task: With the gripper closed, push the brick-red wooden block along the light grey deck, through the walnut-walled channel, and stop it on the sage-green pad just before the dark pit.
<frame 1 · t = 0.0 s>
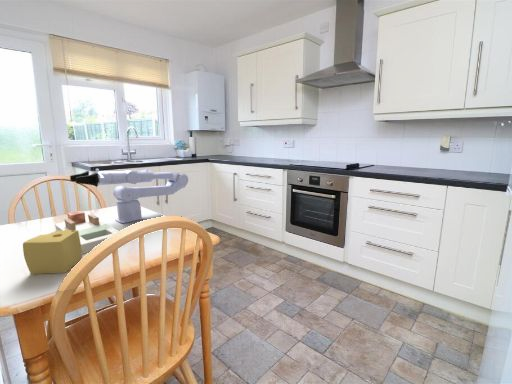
hand: (73, 179, 112), 22 cm above the table, tool horizontal, fingers open, 7 cm apart
block: (77, 222, 118), point 3 cm above the table, touching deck
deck: (87, 235, 111), on the table
cheese: (58, 267, 86), on the table
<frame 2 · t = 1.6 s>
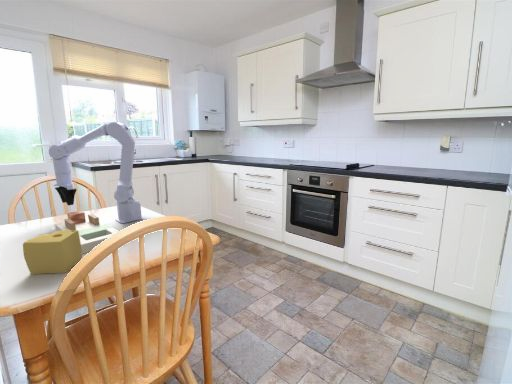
hand: (68, 203, 123), 9 cm above the table, tool pointing down, fingers open, 7 cm apart
nothing on the table moved.
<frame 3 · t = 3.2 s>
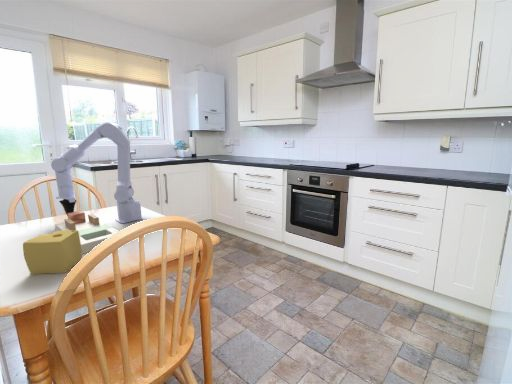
hand: (70, 215, 124), 4 cm above the table, tool pointing down, fingers closed
nothing on the table moved.
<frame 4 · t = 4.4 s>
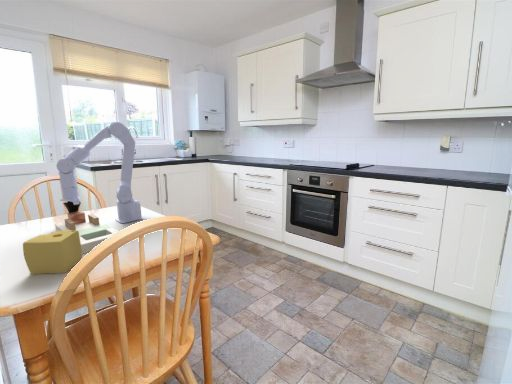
hand: (74, 218, 120), 4 cm above the table, tool pointing down, fingers closed
block: (77, 222, 118), point 3 cm above the table, touching gripper
everything else where it was.
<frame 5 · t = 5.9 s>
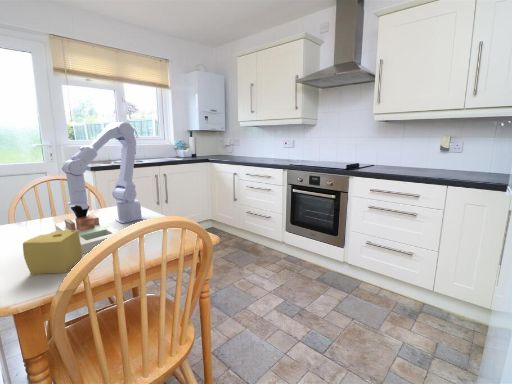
hand: (82, 223, 113), 4 cm above the table, tool pointing down, fingers closed
block: (85, 227, 111), point 3 cm above the table, touching gripper
everything else where it was.
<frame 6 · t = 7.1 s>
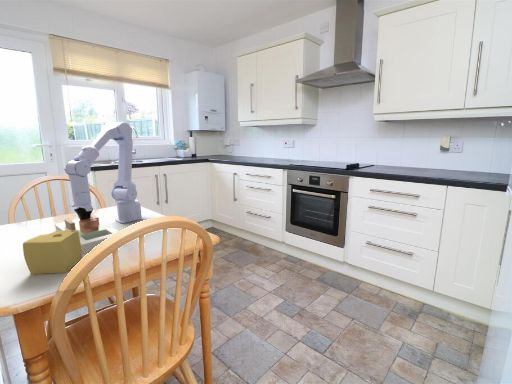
hand: (86, 225, 110), 4 cm above the table, tool pointing down, fingers closed
block: (89, 230, 108), point 3 cm above the table, touching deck, gripper
everything else where it was.
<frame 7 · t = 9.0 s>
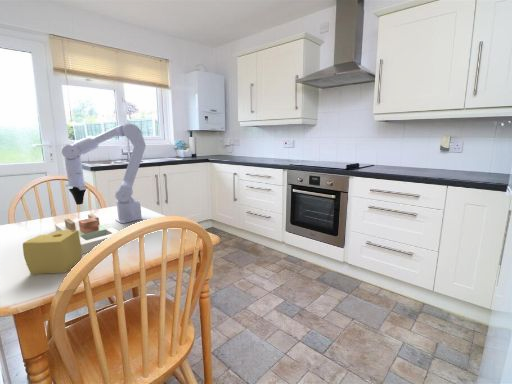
hand: (79, 204, 122), 9 cm above the table, tool pointing down, fingers closed
block: (89, 230, 108), point 3 cm above the table, touching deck
everything else where it was.
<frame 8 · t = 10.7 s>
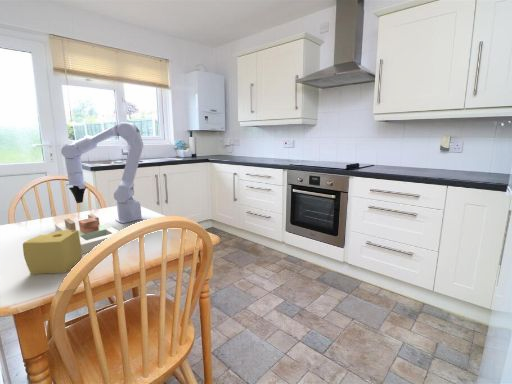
hand: (79, 202, 125), 9 cm above the table, tool pointing down, fingers closed
nothing on the table moved.
at the end: block 0.4 cm from the target spot on the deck, point 3.0 cm above the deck's base; block tilted 0° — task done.
